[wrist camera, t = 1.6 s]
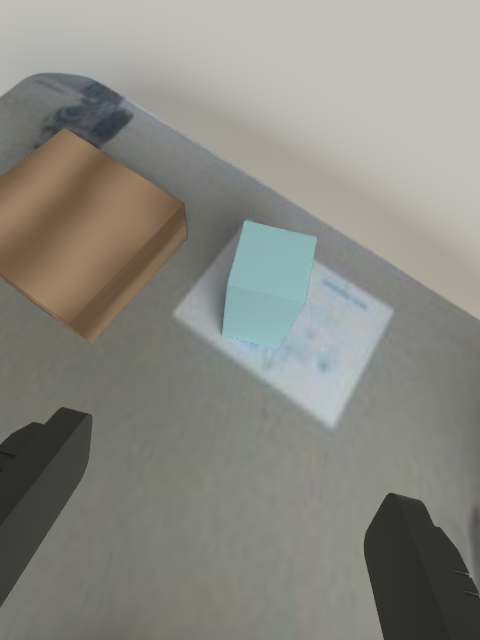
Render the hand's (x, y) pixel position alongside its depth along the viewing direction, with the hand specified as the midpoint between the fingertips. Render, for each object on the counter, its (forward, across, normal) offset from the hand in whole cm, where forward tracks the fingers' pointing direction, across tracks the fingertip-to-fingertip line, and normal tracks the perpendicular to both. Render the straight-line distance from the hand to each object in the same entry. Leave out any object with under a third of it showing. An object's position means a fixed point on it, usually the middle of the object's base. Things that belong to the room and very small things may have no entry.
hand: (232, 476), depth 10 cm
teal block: (+20, 0, +3) cm, 20 cm away
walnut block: (+22, +15, +2) cm, 27 cm away
